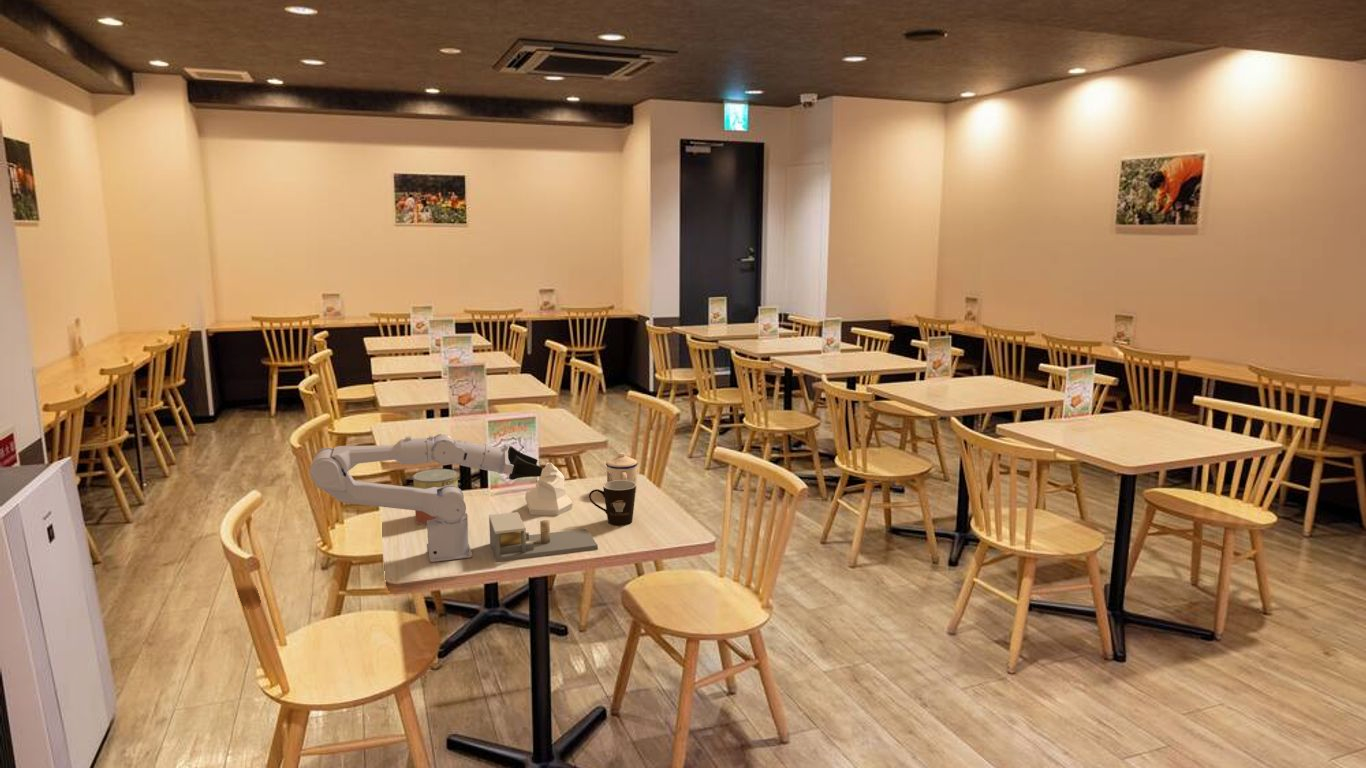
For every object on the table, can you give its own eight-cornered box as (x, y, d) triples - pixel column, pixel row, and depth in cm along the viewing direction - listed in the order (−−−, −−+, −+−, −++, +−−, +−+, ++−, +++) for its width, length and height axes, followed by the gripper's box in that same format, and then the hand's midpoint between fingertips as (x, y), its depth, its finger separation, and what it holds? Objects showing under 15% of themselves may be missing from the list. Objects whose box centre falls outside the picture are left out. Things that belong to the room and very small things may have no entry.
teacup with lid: (604, 487, 254) (604, 449, 252) (635, 486, 255) (635, 448, 253) (609, 500, 242) (608, 460, 240) (641, 498, 244) (640, 459, 242)
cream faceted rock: (584, 508, 240) (590, 464, 235) (547, 528, 228) (553, 482, 223) (550, 490, 246) (556, 447, 240) (513, 509, 234) (518, 463, 228)
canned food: (457, 524, 223) (455, 480, 221) (412, 526, 221) (409, 482, 219) (461, 510, 234) (459, 467, 232) (418, 512, 232) (416, 469, 230)
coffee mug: (642, 518, 227) (642, 482, 225) (626, 529, 219) (626, 491, 218) (604, 512, 232) (603, 477, 230) (587, 522, 224) (586, 485, 222)
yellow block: (500, 550, 202) (499, 530, 201) (498, 543, 207) (497, 523, 206) (551, 544, 206) (551, 524, 205) (548, 537, 210) (547, 517, 210)
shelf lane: (496, 561, 198) (495, 531, 197) (490, 543, 210) (489, 515, 208) (597, 549, 206) (597, 520, 205) (586, 532, 217) (586, 504, 216)
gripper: (489, 447, 194) (548, 459, 199) (483, 434, 207) (538, 445, 212) (482, 477, 194) (540, 488, 199) (476, 462, 208) (531, 472, 213)
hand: (538, 467), depth 206 cm, fingers open, 7 cm apart
